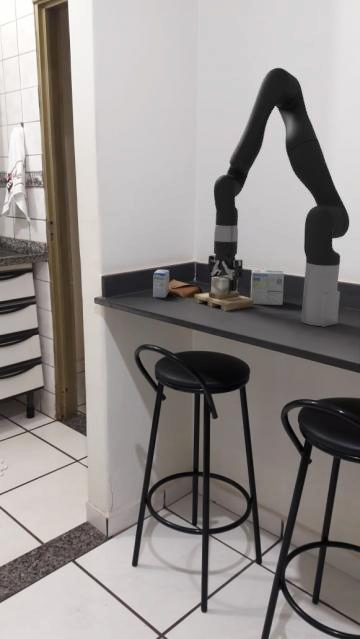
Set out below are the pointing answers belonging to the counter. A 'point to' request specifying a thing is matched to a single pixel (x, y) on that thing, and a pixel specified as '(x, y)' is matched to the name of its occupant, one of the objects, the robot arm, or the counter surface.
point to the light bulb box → (267, 287)
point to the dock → (225, 301)
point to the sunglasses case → (183, 289)
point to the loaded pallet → (222, 288)
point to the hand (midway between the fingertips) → (223, 289)
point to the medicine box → (160, 283)
